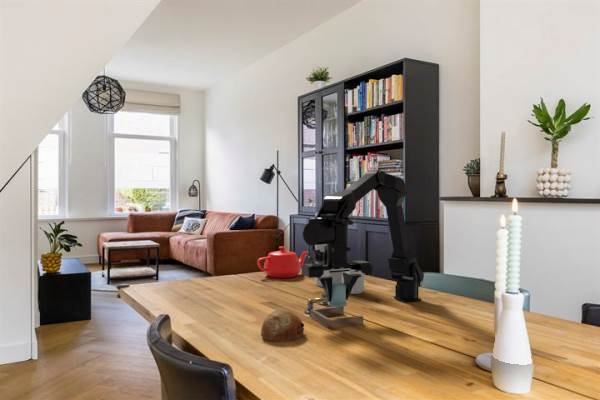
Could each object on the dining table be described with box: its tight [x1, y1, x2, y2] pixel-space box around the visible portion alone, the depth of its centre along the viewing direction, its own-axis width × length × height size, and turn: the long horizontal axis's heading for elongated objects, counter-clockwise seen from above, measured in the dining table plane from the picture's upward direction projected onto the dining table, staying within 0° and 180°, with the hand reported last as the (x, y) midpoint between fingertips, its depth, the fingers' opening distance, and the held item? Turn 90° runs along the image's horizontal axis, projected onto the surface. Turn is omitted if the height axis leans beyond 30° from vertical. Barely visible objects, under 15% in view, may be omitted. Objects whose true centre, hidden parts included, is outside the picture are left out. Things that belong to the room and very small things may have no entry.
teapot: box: [256, 245, 309, 279], centre depth 188 cm, size 25×16×12 cm, turn 124°
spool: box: [327, 282, 348, 308], centre depth 122 cm, size 5×5×6 cm
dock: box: [308, 306, 364, 329], centre depth 121 cm, size 10×12×2 cm
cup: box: [342, 270, 366, 295], centre depth 154 cm, size 11×8×8 cm
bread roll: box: [260, 309, 305, 343], centre depth 108 cm, size 10×10×8 cm
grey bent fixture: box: [303, 290, 328, 315], centre depth 135 cm, size 12×12×4 cm
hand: (337, 300), depth 122 cm, fingers closed on spool, 4 cm apart
